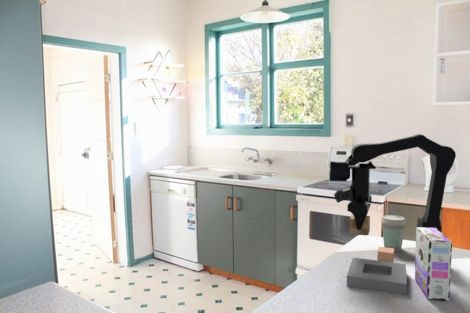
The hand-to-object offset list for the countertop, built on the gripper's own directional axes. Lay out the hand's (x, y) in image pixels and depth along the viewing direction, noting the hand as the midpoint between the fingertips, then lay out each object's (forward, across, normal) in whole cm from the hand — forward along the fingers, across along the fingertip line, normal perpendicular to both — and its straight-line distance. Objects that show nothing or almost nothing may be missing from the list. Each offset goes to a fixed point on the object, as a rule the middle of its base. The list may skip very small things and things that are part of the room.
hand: (359, 227), depth 132 cm
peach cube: (+12, 0, +8) cm, 15 cm away
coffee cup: (+12, -17, +10) cm, 23 cm away
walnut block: (+2, 0, 0) cm, 2 cm away
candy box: (+12, +16, +21) cm, 29 cm away
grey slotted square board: (+12, +14, +6) cm, 19 cm away
